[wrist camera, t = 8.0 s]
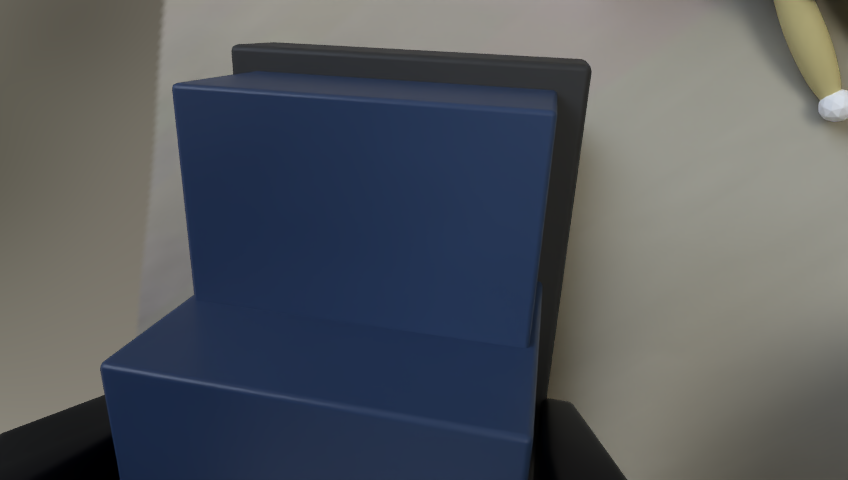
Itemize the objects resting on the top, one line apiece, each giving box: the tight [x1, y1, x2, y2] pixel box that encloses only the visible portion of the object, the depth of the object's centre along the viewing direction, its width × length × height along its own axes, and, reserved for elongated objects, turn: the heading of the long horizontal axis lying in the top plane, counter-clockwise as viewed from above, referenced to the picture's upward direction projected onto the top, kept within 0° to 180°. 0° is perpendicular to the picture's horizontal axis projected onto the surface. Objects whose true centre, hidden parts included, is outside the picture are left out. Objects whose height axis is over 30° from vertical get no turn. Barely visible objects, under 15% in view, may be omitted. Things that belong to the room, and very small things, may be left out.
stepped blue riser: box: [100, 42, 591, 480], centre depth 8 cm, size 10×4×4 cm, turn 177°
